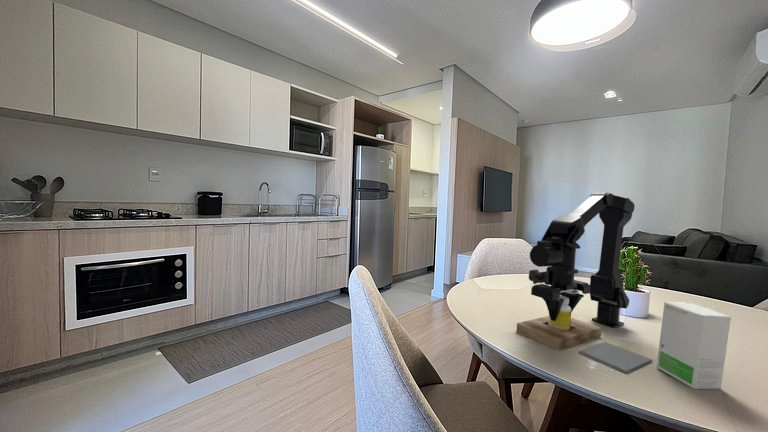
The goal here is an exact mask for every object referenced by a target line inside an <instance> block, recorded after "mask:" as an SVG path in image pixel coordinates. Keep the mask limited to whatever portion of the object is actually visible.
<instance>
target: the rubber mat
mask: <svg viewBox="0 0 768 432" xmlns="http://www.w3.org/2000/svg"><path fill="white" fill-rule="evenodd" d="M578 354H581V355H584V356H585V357H588V358H590V359H592V360H594V361H595V362H599V363H601V364H603V365H606V366H608V367H610V368H613V369H615V370H617V371H620V372H622V373H624V374H628V373H630V372H633V371H635V370H637V369H639V368H642V367H644V366H646V365H648V364H651V363H652V362H653V361H652V360H653V359H652V358H649V357H647V356H644V355H642V354H639V353H636V352H634V351H631V350H628V349H626V348H623V347H620V346H618V345H616V344H615V345H614V344H612V343H609V342H607V341H603V342H600V343H597V344H594V345H591V346H587V347H585V348H582V349H580V350H578Z"/></svg>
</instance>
